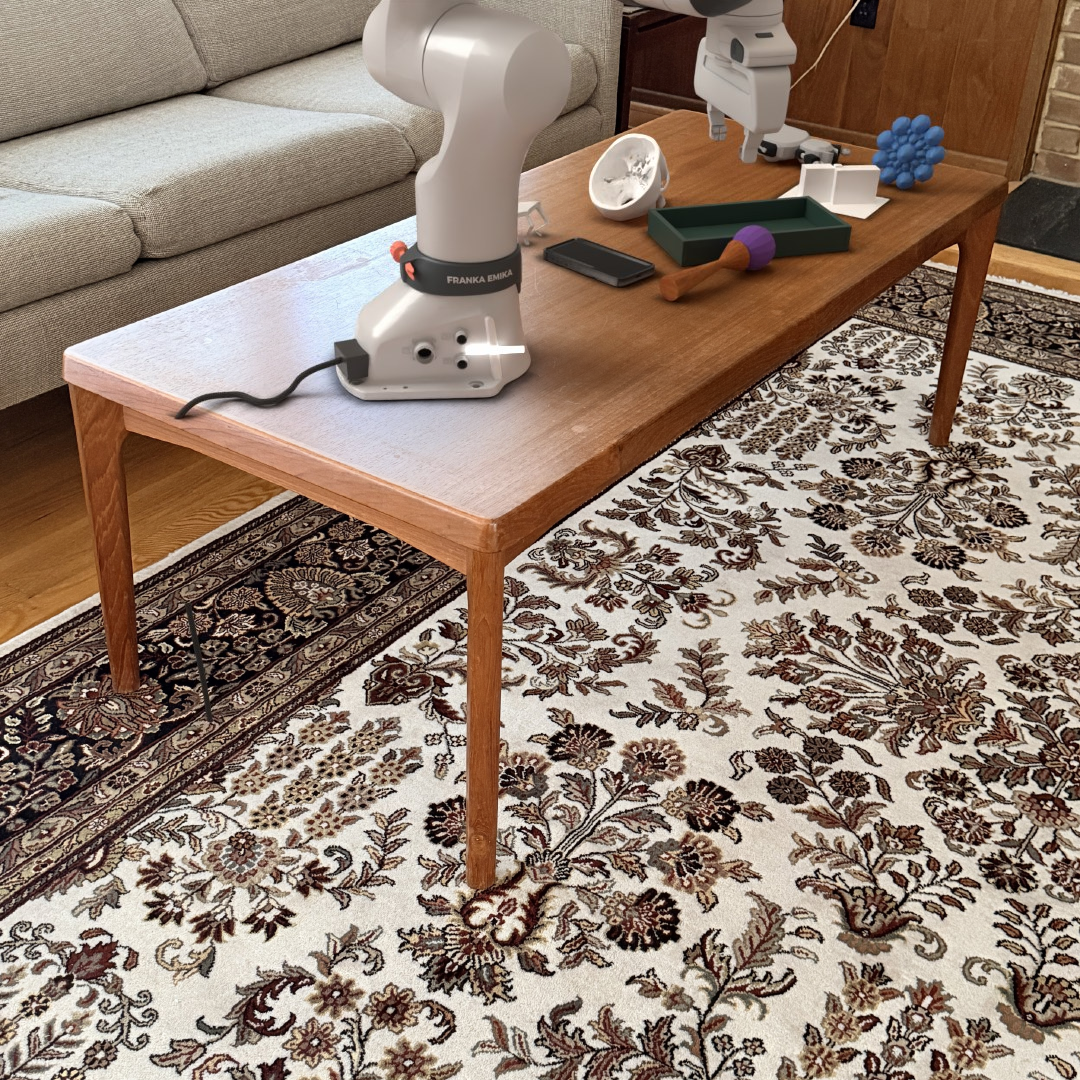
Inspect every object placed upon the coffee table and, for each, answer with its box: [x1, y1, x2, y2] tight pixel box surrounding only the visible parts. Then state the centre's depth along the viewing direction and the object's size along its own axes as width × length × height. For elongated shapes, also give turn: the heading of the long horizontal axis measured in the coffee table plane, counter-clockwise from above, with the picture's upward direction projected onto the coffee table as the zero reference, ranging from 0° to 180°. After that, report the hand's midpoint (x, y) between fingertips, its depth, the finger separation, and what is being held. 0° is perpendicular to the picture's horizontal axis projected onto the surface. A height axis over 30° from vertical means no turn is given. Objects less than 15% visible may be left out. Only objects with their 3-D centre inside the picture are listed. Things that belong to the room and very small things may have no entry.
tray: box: [646, 196, 853, 267], centre depth 176 cm, size 26×14×4 cm, turn 106°
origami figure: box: [518, 200, 551, 246], centre depth 174 cm, size 12×8×5 cm
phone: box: [542, 237, 656, 288], centre depth 168 cm, size 8×1×15 cm
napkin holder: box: [778, 163, 891, 220], centre depth 192 cm, size 15×11×6 cm
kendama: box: [658, 225, 776, 302], centre depth 163 cm, size 6×6×20 cm
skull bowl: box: [588, 133, 671, 222], centre depth 186 cm, size 10×14×12 cm
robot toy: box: [757, 123, 852, 166], centre depth 208 cm, size 12×4×15 cm
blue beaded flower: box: [871, 114, 947, 190], centre depth 196 cm, size 12×7×12 cm, turn 54°
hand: (731, 150), depth 155 cm, fingers open, 8 cm apart
